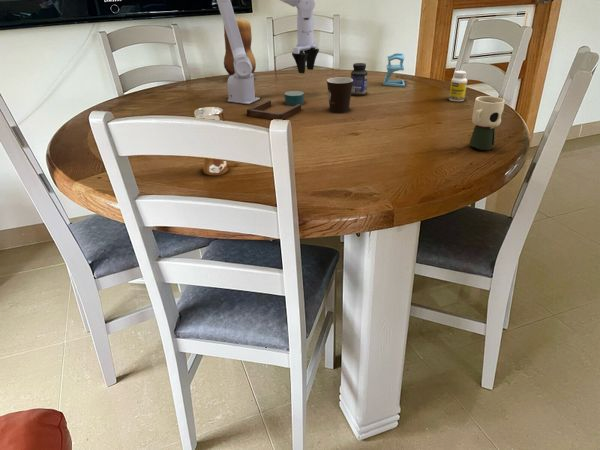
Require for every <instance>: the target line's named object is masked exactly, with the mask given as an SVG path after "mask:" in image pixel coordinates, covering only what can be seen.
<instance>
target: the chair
mask: <svg viewBox="0 0 600 450" xmlns="http://www.w3.org/2000/svg"><path fill="white" fill-rule="evenodd" d="M394 60H399V64H392V63H391V61H394ZM387 61H388V63H387V64H386V74H385V76H384V80H383V81H382V83H383V86H391V87H401V88H405V87H406V86H405V85H406V83H405V80H404V79H402V80H401V79H399V80H390V78H391V76H392V75H393V74H394V73H396V72H399V71H404V70H405V68H404V61H405V54H404V53H399V52H398V53H394V54H391V55H388V56H387Z"/></svg>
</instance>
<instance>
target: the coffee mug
mask: <svg viewBox="0 0 600 450" xmlns="http://www.w3.org/2000/svg"><path fill="white" fill-rule="evenodd" d="M352 84H353V79H351V77H343V76H340V77H339V76H338V77H330V78H327V79H326V86H327V95H328V104H329V111H330V112H331V113H335V114H344V113H348V112H349V111H350V105H351V99H352V98H351V97H352V94H351V91H352Z"/></svg>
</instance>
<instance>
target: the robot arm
mask: <svg viewBox="0 0 600 450" xmlns="http://www.w3.org/2000/svg"><path fill="white" fill-rule="evenodd" d="M279 1H280V2H283V3H285V4H286V5H289V6H290V7H293V8H296V9H297V11H296V12H297V16H296V29H297V30H296V31H297V33H296V34H297V35H296V36H297V38H296V39H297V44H296V45H295V46H294V47H292V52H291V53H292V54H291V56H292V57H293V59H294V62H295V65H296V68H297V72H298V74H305V72H306V69H307V70H308V71H313V70H314V67H315V63H316V59H317V56H318V54H319V52H320V48H318V41H315V36H314V35H315V34H314V33H315V31H314V30H315V27H314V25H315V24H314V23H315V22H314V9H315V8H316V2H315V0H279ZM216 4H217V6H218V11H219V13H220V16H221V20H222V23H223V27H224V26H225V30H226V33H227V36H228V40H229V43H230V46H231V50H232V53H233V57H234V70H235V74H233V75H231V76H230V75H229V77H228V78H227V82H226V86H227V87H226V88H227V98H228V99H227V102H228V103H229V102H231V103H237V104H245V105H250V104H252V103H254V102H257V101H259V100H260V99H261V98H260V97H258V96H256V91H255V77H254V76H255V75H254V73H251V72H252V64H251V61H250V59H249V57H248V56H247V55H246V53H245V50H244V46H243V43H242V39H241V36H240V32H239V29H238V25H237V22H236V18H235V17H236V15H235V12H234V8H233V5H232V1H231V0H216Z"/></svg>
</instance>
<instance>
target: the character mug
mask: <svg viewBox="0 0 600 450" xmlns="http://www.w3.org/2000/svg"><path fill="white" fill-rule="evenodd" d="M505 102H506V100H505V99H504V98H502V97H499V96H492V95H482V96H477V97H475V100H474V106H473V110H472V116H471V123H472V124H474V125H475V126H474V128H473V130H472V134H471V136H470V140H469V144H468V145H469V146H471V147H473V148H474V149H477V150H481V151H482V150H484V151H490V150H492V148H493V149H494V148H495V142H496V141H495V140H496V139H495V138H496V128H495V127H499V126H500V125H501V123H502V115H503V113H504V109H505V104H506V103H505Z"/></svg>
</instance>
